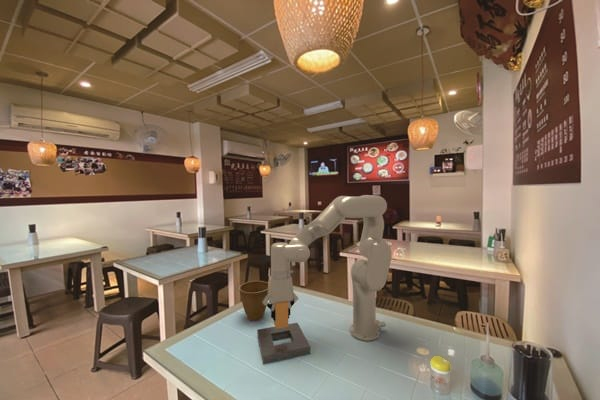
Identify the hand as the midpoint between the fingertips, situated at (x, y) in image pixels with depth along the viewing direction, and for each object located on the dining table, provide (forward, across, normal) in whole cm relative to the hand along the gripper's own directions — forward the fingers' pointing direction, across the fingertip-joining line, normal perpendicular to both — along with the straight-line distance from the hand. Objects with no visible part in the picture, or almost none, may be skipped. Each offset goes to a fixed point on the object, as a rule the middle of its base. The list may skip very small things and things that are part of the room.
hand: (280, 317), depth 100 cm
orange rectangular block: (+3, 0, 0) cm, 3 cm away
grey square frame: (+11, -1, 0) cm, 11 cm away
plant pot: (+12, +7, -25) cm, 28 cm away
